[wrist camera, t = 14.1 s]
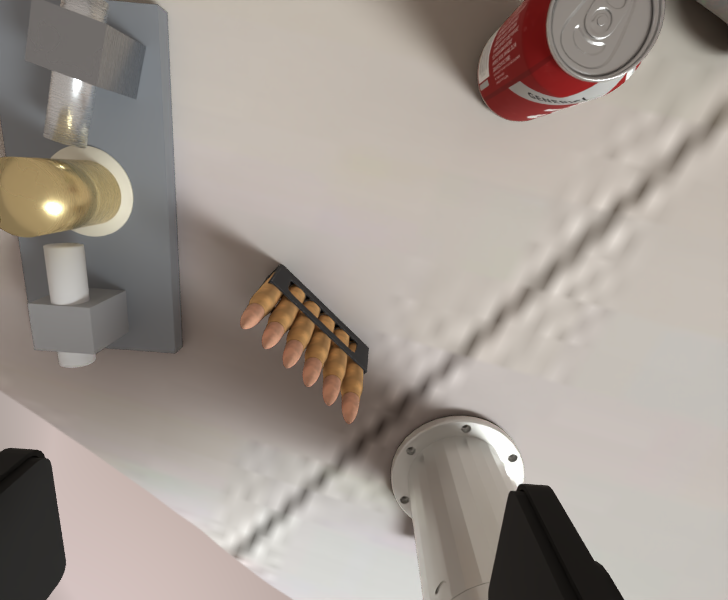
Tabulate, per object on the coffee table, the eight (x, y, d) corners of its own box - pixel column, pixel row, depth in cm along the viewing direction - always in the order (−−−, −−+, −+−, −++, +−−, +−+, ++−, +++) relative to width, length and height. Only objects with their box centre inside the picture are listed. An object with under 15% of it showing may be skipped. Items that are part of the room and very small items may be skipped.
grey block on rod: (126, 155, 32) (86, 152, 28) (67, 134, 32) (16, 128, 27) (149, 26, 30) (110, 0, 25) (86, 2, 29) (34, -29, 25)
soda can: (457, 92, 32) (506, 46, 21) (509, 2, 31) (595, -102, 19) (530, 139, 33) (616, 122, 22) (584, 55, 32) (710, -14, 20)
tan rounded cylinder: (118, 162, 32) (52, 159, 26) (124, 226, 34) (63, 240, 27) (53, 157, 32) (-29, 153, 25) (62, 222, 34) (-14, 234, 27)
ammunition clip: (266, 278, 36) (220, 326, 25) (281, 263, 36) (241, 305, 25) (354, 361, 39) (349, 441, 27) (369, 348, 38) (370, 423, 27)
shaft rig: (182, 346, 38) (147, 379, 32) (46, 336, 38) (-14, 367, 32) (167, 12, 31) (118, -27, 25) (-2, -3, 31) (-91, -46, 25)
